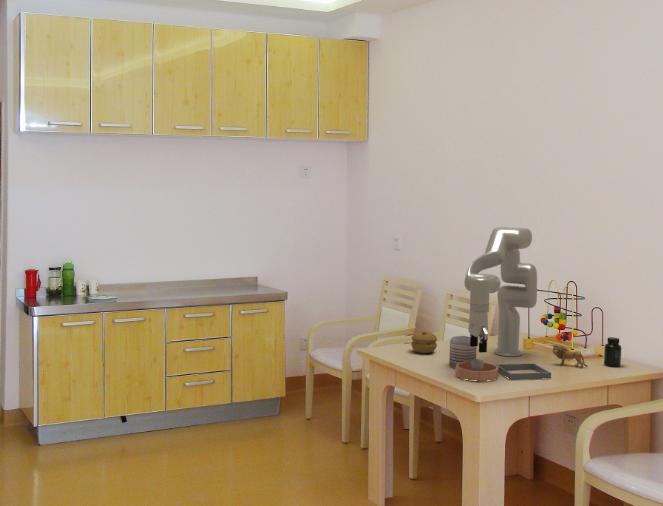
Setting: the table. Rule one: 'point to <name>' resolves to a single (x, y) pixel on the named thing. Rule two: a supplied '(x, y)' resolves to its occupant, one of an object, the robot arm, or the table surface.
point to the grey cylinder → (477, 365)
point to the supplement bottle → (612, 353)
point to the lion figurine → (567, 355)
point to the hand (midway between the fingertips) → (478, 349)
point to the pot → (424, 342)
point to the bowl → (477, 372)
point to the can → (461, 350)
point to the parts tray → (540, 375)
